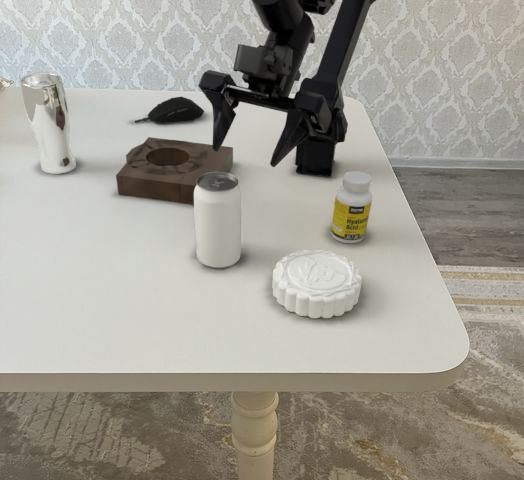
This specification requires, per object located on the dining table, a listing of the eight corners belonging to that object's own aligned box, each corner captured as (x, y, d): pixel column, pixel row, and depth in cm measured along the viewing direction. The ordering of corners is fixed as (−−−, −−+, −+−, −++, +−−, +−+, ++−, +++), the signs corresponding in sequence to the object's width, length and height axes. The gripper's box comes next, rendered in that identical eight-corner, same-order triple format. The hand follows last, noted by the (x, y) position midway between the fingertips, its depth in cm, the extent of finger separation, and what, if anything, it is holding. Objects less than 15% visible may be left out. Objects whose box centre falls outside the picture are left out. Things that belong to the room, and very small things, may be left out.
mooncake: (253, 292, 81) (254, 270, 78) (308, 257, 87) (310, 236, 85) (323, 332, 75) (326, 310, 72) (376, 291, 82) (380, 270, 79)
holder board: (233, 165, 109) (233, 146, 107) (210, 207, 97) (209, 187, 95) (144, 154, 111) (142, 135, 109) (112, 193, 99) (109, 174, 97)
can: (246, 250, 88) (248, 175, 80) (231, 273, 84) (231, 196, 75) (206, 241, 90) (204, 166, 81) (189, 264, 85) (184, 187, 77)
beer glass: (68, 177, 103) (50, 88, 93) (31, 172, 104) (10, 84, 94) (85, 160, 108) (70, 74, 98) (49, 156, 109) (31, 70, 99)
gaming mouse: (131, 117, 124) (129, 97, 121) (198, 109, 129) (197, 90, 126) (138, 128, 120) (136, 108, 117) (207, 120, 124) (207, 100, 122)
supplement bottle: (342, 247, 90) (351, 188, 83) (323, 230, 93) (331, 172, 87) (371, 239, 92) (383, 181, 85) (352, 223, 95) (361, 165, 89)
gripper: (203, 4, 78) (160, 115, 78) (333, 28, 72) (287, 148, 72) (233, 54, 88) (195, 151, 88) (348, 78, 82) (308, 182, 82)
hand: (242, 157), depth 82 cm, fingers open, 9 cm apart
